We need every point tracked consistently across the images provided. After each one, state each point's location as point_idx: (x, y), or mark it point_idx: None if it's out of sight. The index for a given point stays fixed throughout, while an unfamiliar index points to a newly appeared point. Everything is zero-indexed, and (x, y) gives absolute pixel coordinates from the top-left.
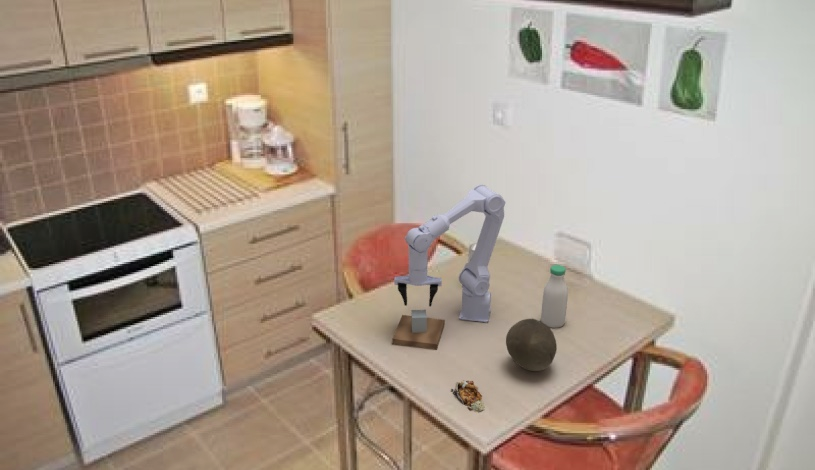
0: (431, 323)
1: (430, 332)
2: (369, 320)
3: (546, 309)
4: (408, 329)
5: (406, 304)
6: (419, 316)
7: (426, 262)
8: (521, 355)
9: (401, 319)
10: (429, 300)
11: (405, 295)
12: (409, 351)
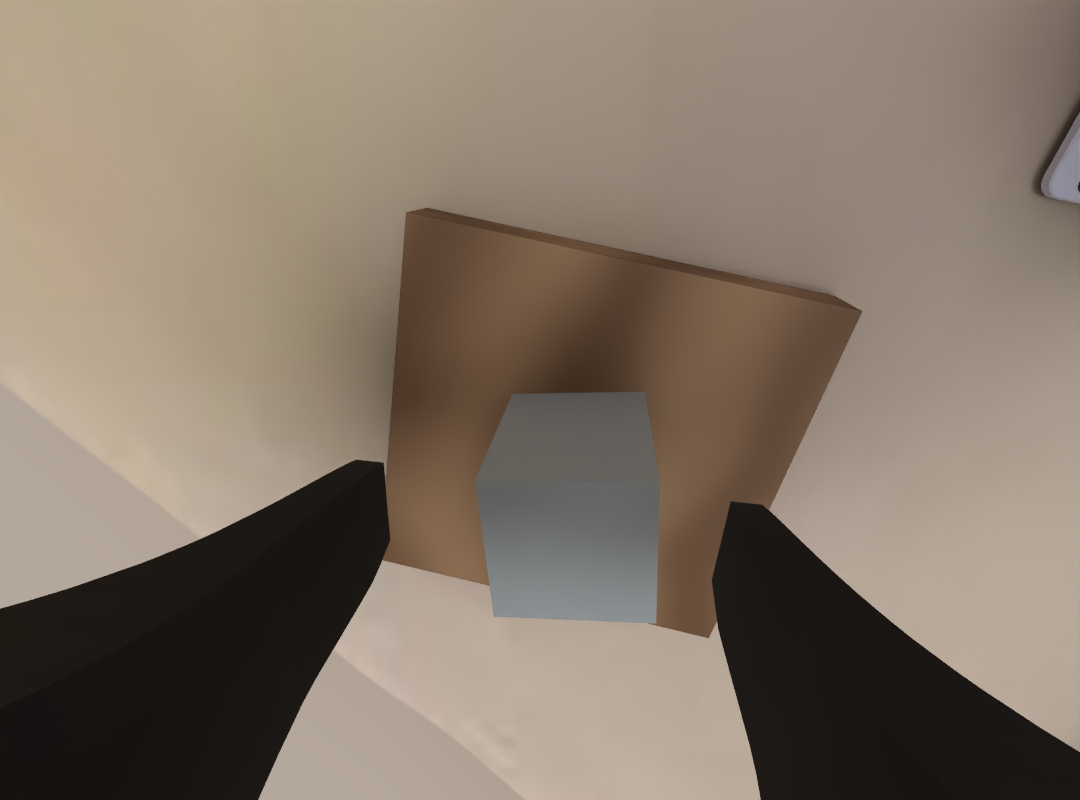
0: (704, 377)
1: (676, 506)
2: (147, 215)
3: None
4: None
5: (379, 560)
6: (572, 604)
7: None
8: None
9: (411, 301)
10: (739, 703)
11: (274, 754)
12: None
